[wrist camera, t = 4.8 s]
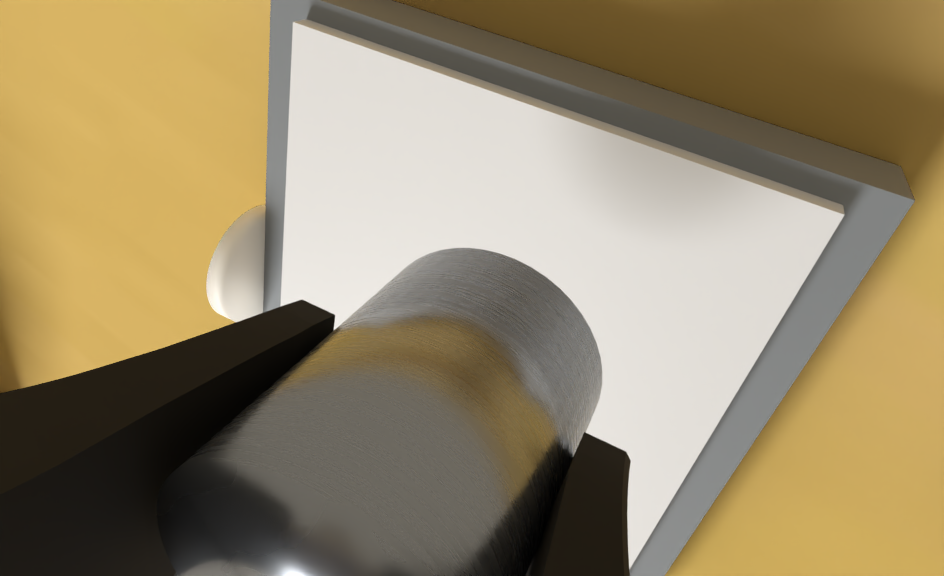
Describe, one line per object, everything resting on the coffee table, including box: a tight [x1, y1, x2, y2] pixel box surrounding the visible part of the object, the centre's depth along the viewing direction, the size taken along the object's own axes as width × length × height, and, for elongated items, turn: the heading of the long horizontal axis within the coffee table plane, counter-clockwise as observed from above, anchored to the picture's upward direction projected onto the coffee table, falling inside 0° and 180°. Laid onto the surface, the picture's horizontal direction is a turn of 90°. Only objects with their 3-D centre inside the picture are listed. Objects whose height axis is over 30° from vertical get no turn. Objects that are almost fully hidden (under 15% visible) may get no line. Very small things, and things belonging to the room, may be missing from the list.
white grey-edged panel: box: [207, 0, 915, 576], centre depth 18 cm, size 16×15×4 cm
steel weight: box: [157, 248, 602, 576], centre depth 9 cm, size 4×4×5 cm
